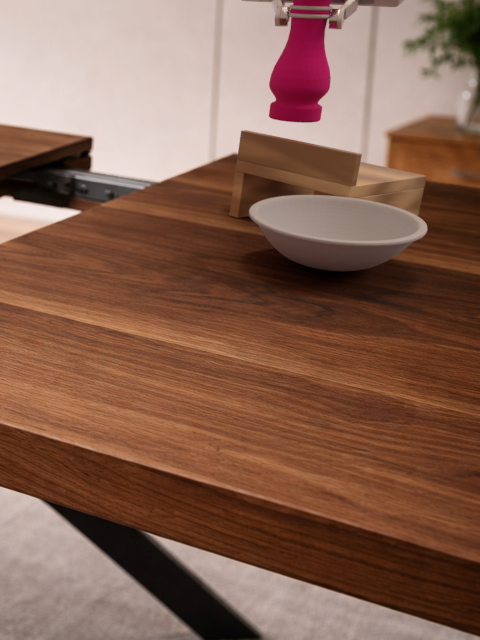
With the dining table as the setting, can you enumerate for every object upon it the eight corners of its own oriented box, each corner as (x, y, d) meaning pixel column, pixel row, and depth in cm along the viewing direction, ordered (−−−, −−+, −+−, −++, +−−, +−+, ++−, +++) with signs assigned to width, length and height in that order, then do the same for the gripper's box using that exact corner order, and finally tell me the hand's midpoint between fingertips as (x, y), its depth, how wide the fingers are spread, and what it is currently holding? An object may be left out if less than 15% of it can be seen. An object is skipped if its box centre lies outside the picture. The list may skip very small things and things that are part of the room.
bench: (303, 204, 108) (316, 124, 105) (414, 234, 97) (433, 145, 94) (229, 215, 102) (240, 130, 99) (339, 248, 91) (356, 154, 88)
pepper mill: (283, 123, 116) (309, -54, 109) (253, 114, 123) (276, -53, 115) (336, 123, 118) (365, -52, 110) (303, 114, 124) (329, -52, 117)
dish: (405, 316, 73) (418, 254, 71) (219, 283, 79) (227, 225, 78) (423, 261, 88) (434, 208, 86) (265, 237, 94) (272, 187, 92)
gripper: (247, -82, 122) (220, 1, 117) (421, -81, 113) (399, 9, 109) (250, -43, 127) (224, 37, 123) (417, -40, 118) (395, 47, 114)
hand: (307, 24), depth 116 cm, fingers closed on pepper mill, 5 cm apart
